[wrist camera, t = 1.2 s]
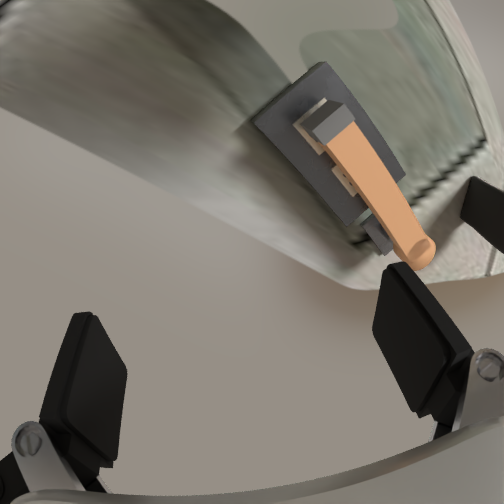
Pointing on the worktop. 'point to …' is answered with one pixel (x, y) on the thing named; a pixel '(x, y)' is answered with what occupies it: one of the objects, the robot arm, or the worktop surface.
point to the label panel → (309, 150)
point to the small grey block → (378, 234)
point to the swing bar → (370, 180)
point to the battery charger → (485, 211)
